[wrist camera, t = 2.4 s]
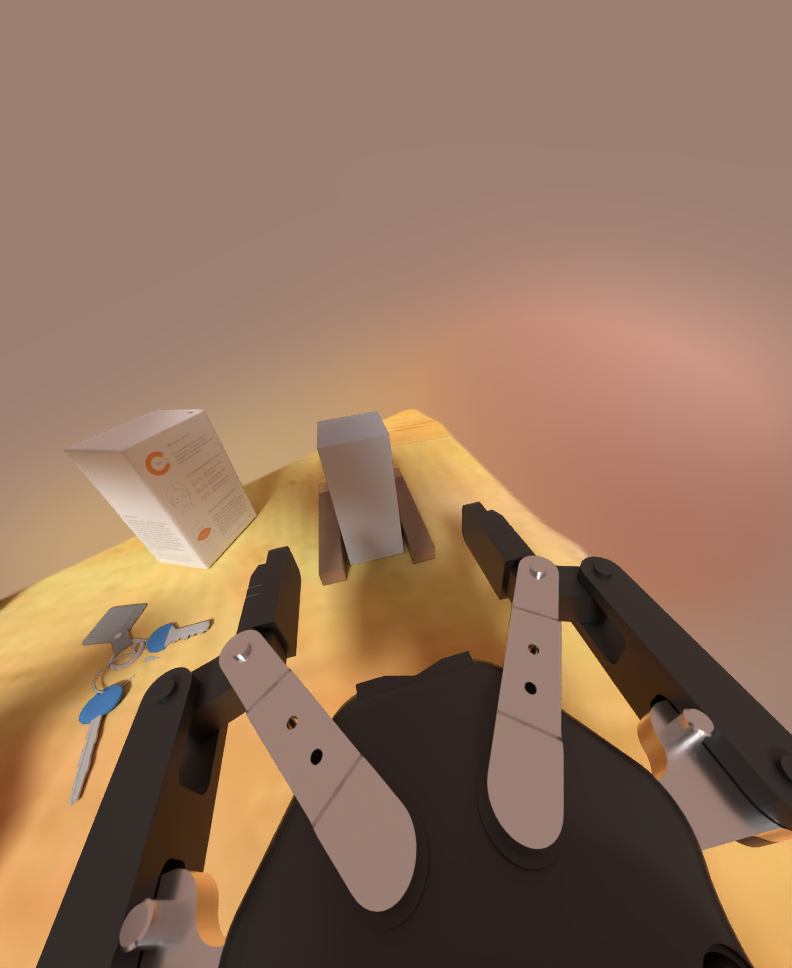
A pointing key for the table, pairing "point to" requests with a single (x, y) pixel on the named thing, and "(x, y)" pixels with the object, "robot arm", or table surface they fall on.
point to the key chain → (117, 632)
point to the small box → (169, 484)
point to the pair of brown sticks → (333, 541)
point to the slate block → (361, 485)
